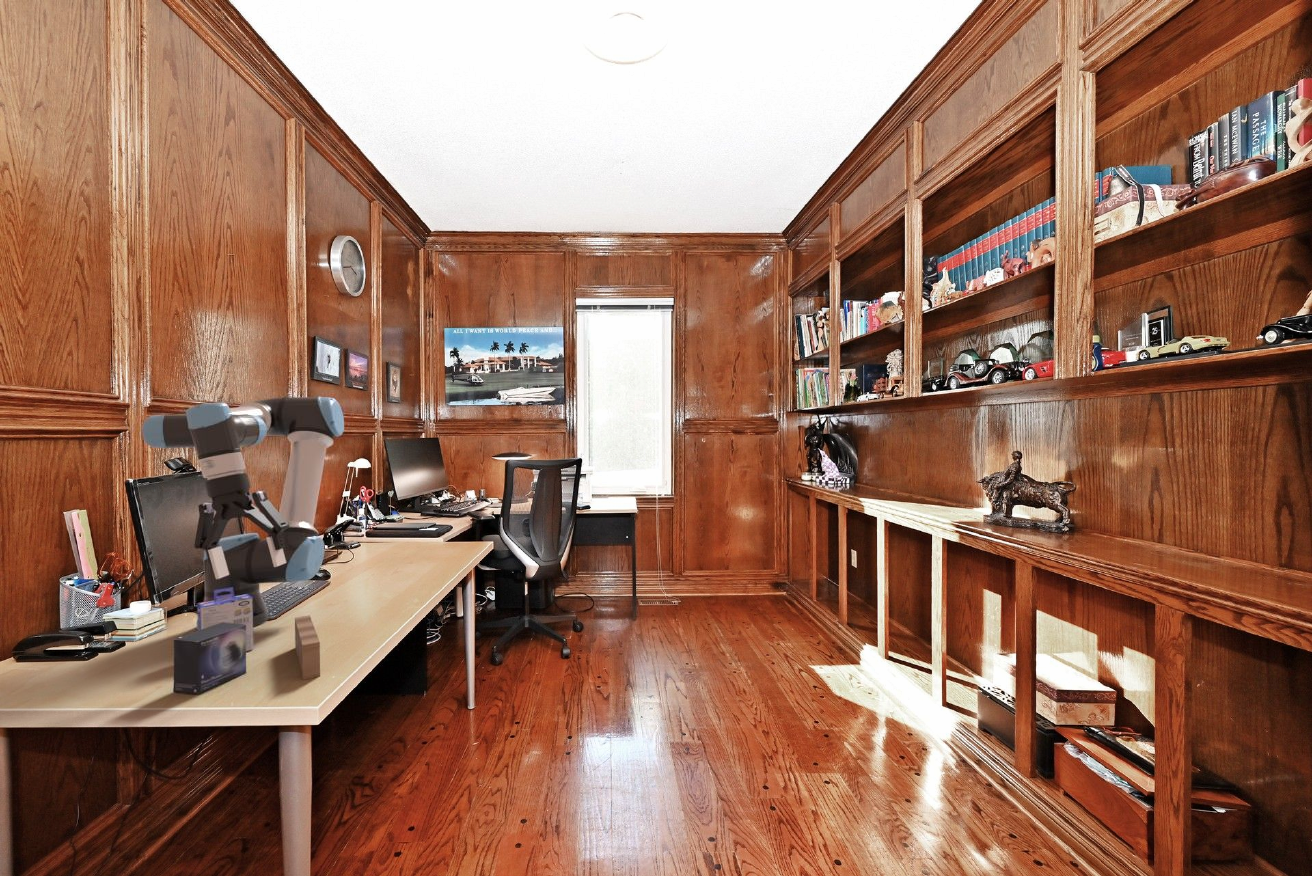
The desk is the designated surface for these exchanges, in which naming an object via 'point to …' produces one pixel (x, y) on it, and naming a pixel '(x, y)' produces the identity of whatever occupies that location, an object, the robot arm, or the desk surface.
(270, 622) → the desk surface
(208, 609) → the ink cartridge box
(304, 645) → the walnut board
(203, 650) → the small box
